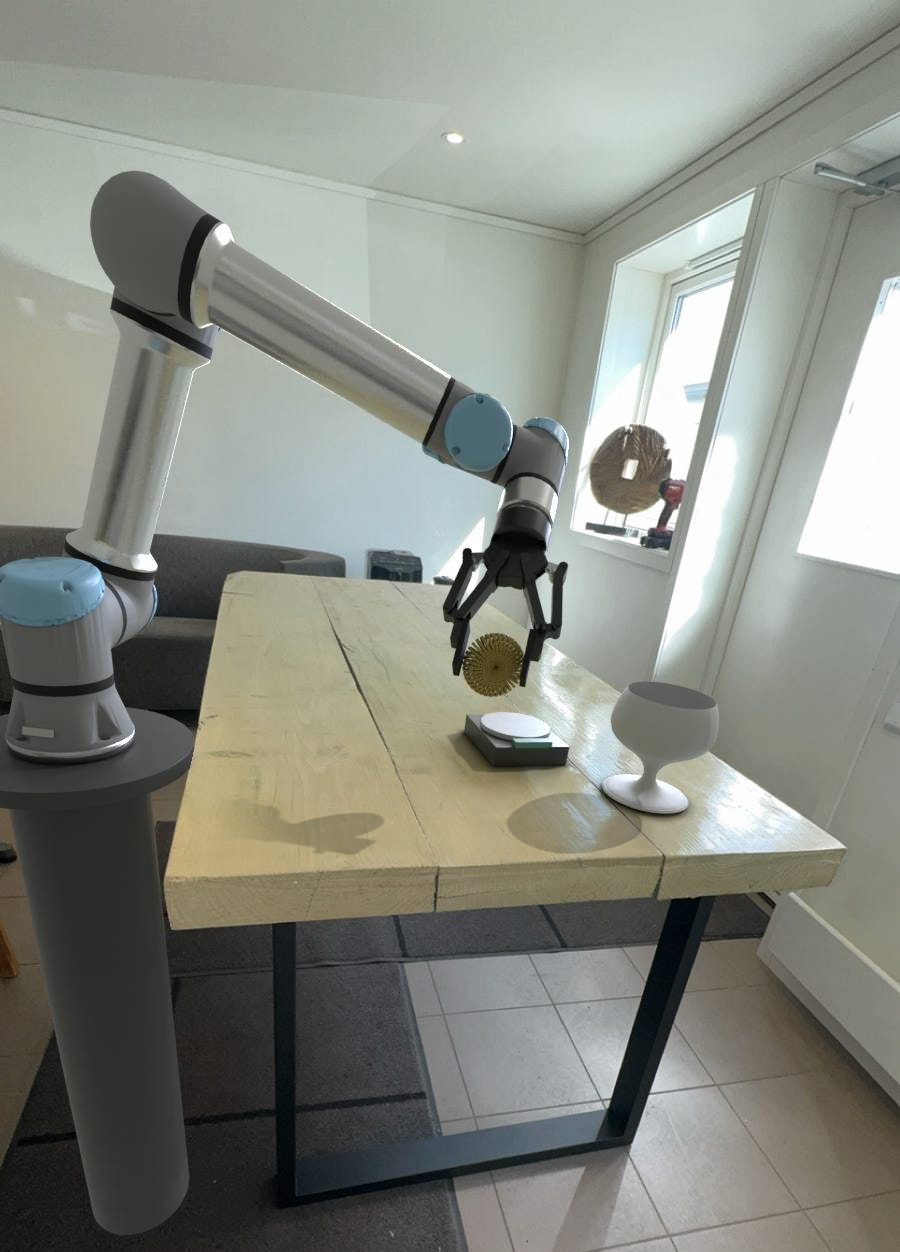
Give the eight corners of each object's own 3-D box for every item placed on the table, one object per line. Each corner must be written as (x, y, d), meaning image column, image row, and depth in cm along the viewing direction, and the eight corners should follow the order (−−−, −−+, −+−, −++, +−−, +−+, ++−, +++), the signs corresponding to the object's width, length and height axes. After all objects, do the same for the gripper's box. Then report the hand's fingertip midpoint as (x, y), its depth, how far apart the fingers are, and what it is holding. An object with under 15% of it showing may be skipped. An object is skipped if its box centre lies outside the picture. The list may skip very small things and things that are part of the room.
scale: (463, 731, 109) (466, 709, 107) (530, 731, 113) (533, 710, 111) (493, 766, 97) (497, 742, 95) (566, 764, 101) (570, 741, 99)
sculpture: (462, 699, 81) (470, 635, 78) (455, 689, 85) (463, 627, 81) (523, 702, 83) (534, 639, 80) (514, 692, 87) (524, 631, 83)
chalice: (715, 808, 93) (748, 707, 86) (649, 827, 85) (680, 717, 78) (639, 769, 103) (664, 675, 96) (574, 783, 95) (596, 682, 88)
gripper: (597, 555, 89) (569, 704, 82) (449, 534, 91) (410, 677, 84) (606, 514, 82) (577, 673, 74) (446, 493, 84) (403, 645, 77)
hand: (488, 675), depth 79 cm, fingers closed on sculpture, 7 cm apart
